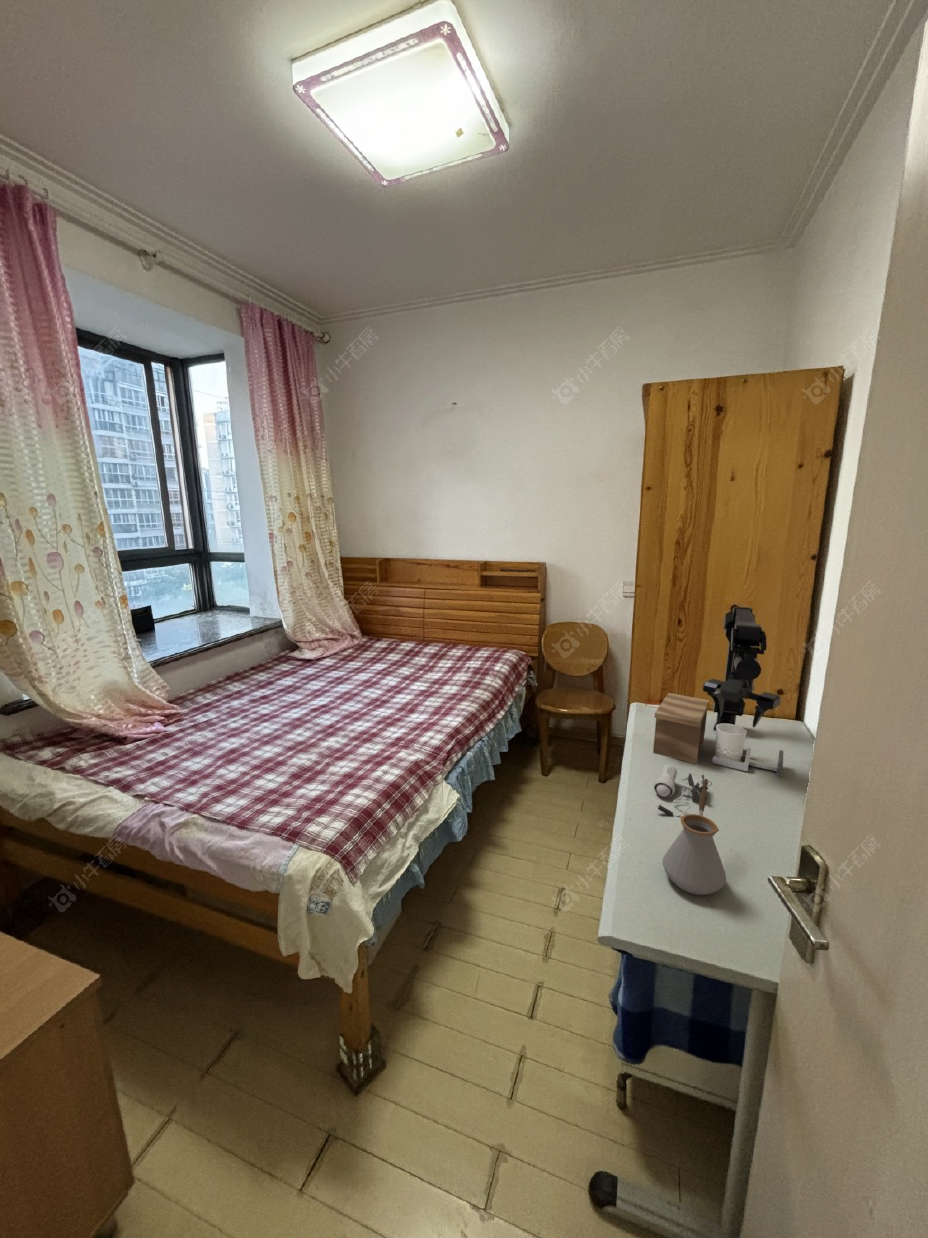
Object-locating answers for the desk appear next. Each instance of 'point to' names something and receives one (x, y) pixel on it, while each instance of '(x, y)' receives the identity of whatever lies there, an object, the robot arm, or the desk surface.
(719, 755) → the white cup
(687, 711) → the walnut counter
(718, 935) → the desk surface
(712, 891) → the coffee pot
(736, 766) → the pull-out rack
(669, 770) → the clip-on lamp
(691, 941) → the desk surface
